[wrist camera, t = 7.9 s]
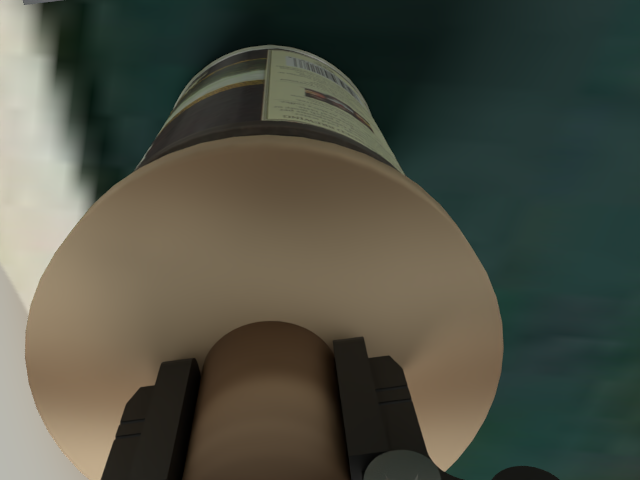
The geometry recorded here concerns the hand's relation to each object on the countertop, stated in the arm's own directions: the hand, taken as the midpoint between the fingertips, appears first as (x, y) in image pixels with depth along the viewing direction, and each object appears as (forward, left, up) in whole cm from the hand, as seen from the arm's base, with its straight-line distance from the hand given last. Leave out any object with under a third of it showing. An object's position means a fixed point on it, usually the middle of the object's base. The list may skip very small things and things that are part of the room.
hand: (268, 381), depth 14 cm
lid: (0, 0, -1) cm, 1 cm away
